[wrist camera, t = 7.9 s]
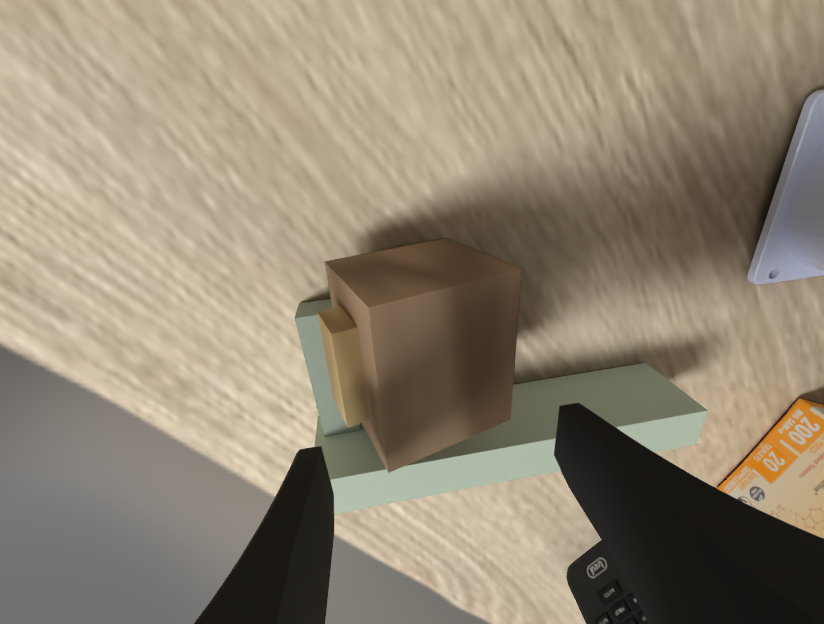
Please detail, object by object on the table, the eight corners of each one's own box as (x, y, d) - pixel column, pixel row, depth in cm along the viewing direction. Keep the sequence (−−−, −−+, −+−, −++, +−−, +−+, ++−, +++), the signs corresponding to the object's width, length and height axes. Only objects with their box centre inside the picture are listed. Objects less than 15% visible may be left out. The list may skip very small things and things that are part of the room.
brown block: (521, 269, 12) (338, 315, 9) (510, 420, 14) (365, 482, 12) (446, 238, 15) (302, 265, 13) (448, 362, 18) (329, 402, 16)
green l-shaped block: (671, 251, 17) (750, 281, 14) (639, 393, 21) (696, 444, 17) (289, 304, 15) (272, 353, 12) (325, 447, 19) (320, 516, 16)
